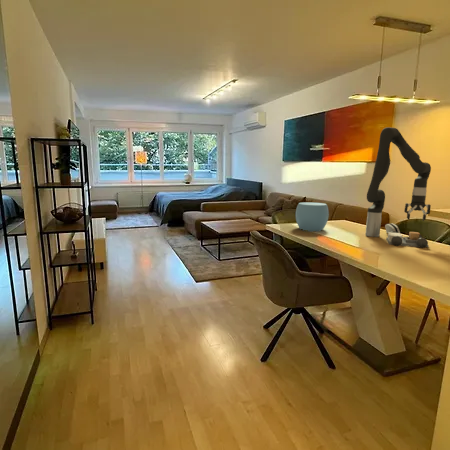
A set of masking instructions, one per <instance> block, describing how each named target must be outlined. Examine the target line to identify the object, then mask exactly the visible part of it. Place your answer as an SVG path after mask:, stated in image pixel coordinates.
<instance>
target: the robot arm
mask: <svg viewBox="0 0 450 450" xmlns="http://www.w3.org/2000/svg"><path fill="white" fill-rule="evenodd" d="M391 143H392V144H393V145H395V146H396V148H397V149H398V150H399V152H400V155H401V156H402V157H403V159H405V161H406V162H407V163H408V164H409V166H410V168H411V169H412V171H414V173H416V174H418V175H417V177H416V178H415V179H414V182H413V189H412V195H411V203H407V202H405V204H404V213H406V219H407V220H411V219H410V218H411V213H412V212H413V211H419V212H422V221H423V222H425V220H426V219H427V216H428V215H430V214H431V205H432V204H430V203H429V204H427V203H426V197H427V186H428V180H429V177H430V174H431V171H432V167H431V164H430V163H428V162H423V161H422V160H421V159H420V158H421V156H420V154H419V153H417V152H416V151H415V149H414V148H412V147H411V146H410V144H409V143H408V142H407V140H406V139H405V138H404V137H403V135H402V133H401V132H400V130H399V129H398V128H397V127H390V126H388V127H387V126H386V127H384V128H383V129H382V130H381V132H380V136H379V143H378V150H377V155H376V159H375V163H374V166H373V167H374V168H373V173H372V176H371V181H370V182H369V186H368V189H367V192H366V200H367V202H368V203H370V204H371V203H372V204H371V206H369V207H368V209H367V215H366V216H367V217H366V221H365V222H366V224H365V225H366V226H365V237H371V238H372V237H373V238H378V237H380V234H381V225H382V224H381V223H382V213H383V210H384V207H385V202H386V194H385V191H384V190H383V189H379V188H380V186H381V183H382V182H383V180H384V179H385V178H386V176H387V175H388V172H389V171H390V165H391V156H390V155H391V154H390V147H391ZM409 207H410V209H409V210H408V208H409ZM424 208H426V211H425V209H424Z"/></svg>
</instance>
